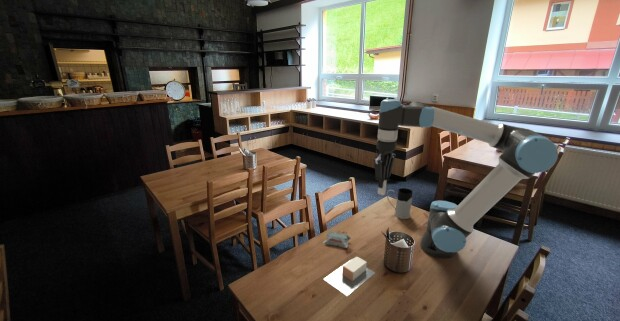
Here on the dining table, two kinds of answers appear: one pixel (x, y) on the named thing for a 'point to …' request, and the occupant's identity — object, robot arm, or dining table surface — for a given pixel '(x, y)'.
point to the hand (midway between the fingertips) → (381, 194)
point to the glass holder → (402, 203)
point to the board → (347, 280)
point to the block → (354, 268)
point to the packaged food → (337, 239)
